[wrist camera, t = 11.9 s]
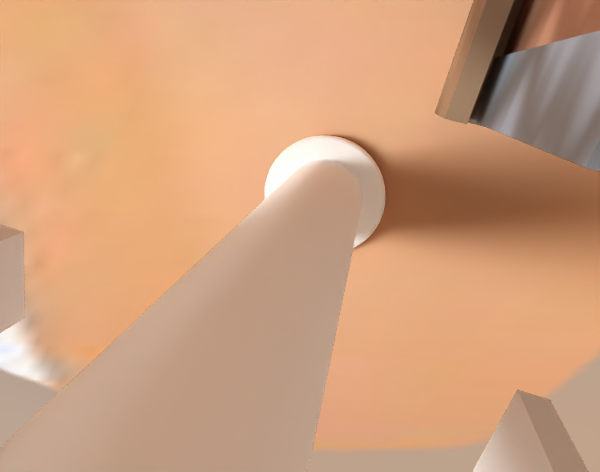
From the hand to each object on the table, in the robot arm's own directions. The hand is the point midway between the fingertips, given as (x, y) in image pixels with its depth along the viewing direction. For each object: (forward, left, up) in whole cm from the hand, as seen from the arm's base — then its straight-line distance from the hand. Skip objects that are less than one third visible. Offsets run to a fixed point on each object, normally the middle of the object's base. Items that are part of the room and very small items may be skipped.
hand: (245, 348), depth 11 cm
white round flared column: (0, 0, -15) cm, 15 cm away
